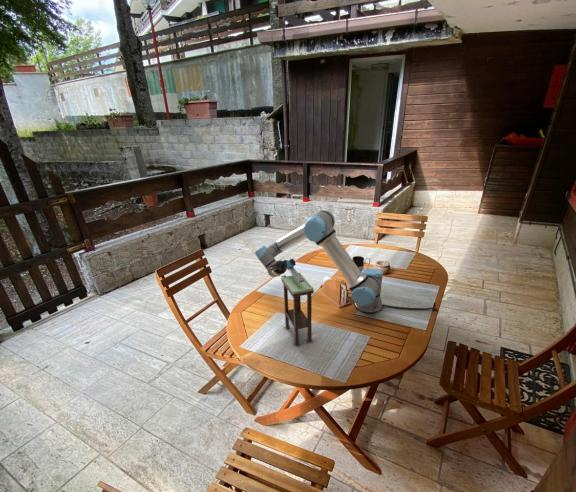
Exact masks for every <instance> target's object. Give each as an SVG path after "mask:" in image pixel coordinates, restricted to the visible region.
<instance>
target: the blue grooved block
mask: <svg viewBox="0 0 576 492" xmlns="http://www.w3.org/2000/svg"><path fill="white" fill-rule="evenodd" d="M285 260H286V261H287V266H285V267H286V268H287V270H288V271H289V273H290V274H291V276H292V275H293V276H294V278H295V279H296V280H297V281H298V283H299V282H304V279H303V278H302V277H301V276H300V275H299V273H300V272H298V271H297V270H296V269H295V267H293V266H292V264H291V263H290V262H289V260H288V259H285Z"/></svg>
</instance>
